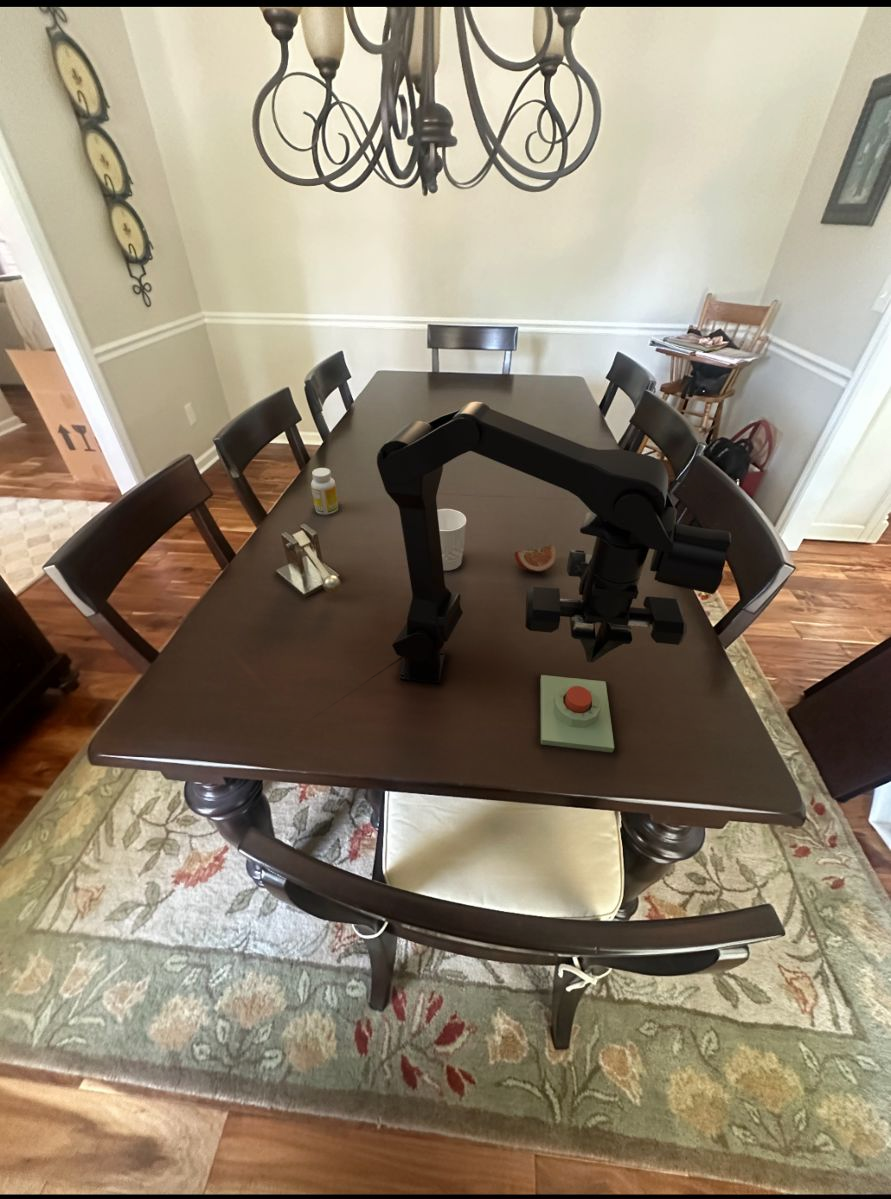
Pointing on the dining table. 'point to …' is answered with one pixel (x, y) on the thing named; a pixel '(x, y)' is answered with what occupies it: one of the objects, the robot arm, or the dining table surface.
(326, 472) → the supplement bottle
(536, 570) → the fruit slice
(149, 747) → the dining table surface
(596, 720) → the switchbox
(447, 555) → the white cup
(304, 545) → the lever
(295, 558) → the bracket
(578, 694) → the button
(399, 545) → the dining table surface
